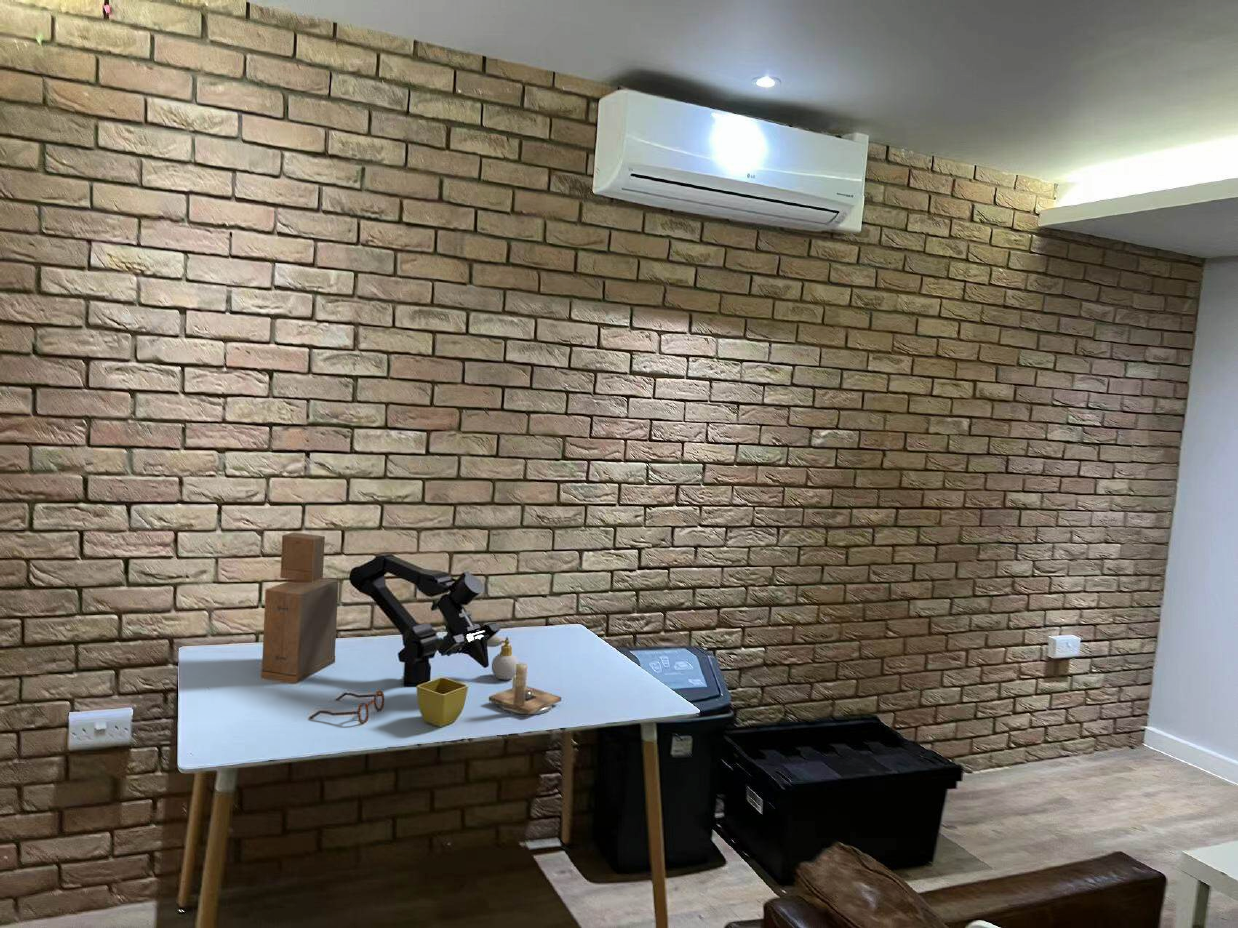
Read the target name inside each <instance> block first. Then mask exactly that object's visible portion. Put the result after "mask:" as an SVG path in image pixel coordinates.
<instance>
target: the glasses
mask: <svg viewBox="0 0 1238 928" xmlns="http://www.w3.org/2000/svg"><path fill="white" fill-rule="evenodd" d="M345 696H349V697H350V696H351V697H354V698H357V699H365V698H373V699H372V700H370V701H369V702H366V701H364V702H361V703H360V704H359V706H358V709H357V710H356V711H337V712H334V711H330V710H320V709H319V711H317V712H315V713H314V714H312V715H311V716H309V717H308V719H311V720H312V719H314V718H316V717H317V716H318V715H320V714H327V715H330V716H349V715H352V716H353V715H357V718H358V721H359V723H360V724H366V723H367V722H368V719H369V715H370V714H369V713H370V711H369V707H370V706H371V705H372V704H373V705H374V707H375V708H374V709H375V710H376V711H377V712H381V711H382V710H383V709H384V707H385V695H384V693H383V691H382V690H377V691H376V692H375V693H372V694H370V693H369V694H355V693H352V692H343V693H342V694H341V695H340V696H339V697H337V698H336V699H334V702H339V701H340V700H341V699H343V698H344V697H345ZM379 697H380V698H381V706H380V707H378V703H377V699H378V698H379ZM363 706H364V707H365V709H366V710H365V712H366V713H365V719H364V720H363V719H362V716H361V711H362V707H363Z"/></svg>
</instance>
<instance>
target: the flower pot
mask: <svg viewBox="0 0 1238 928" xmlns="http://www.w3.org/2000/svg"><path fill="white" fill-rule="evenodd" d="M415 687H416V695H417V696H416V697H417V706H418V709H419V712H420V714H421V717H422V718H423V720H424V721H425V723H428V724H431V725H433V726H435V727H440V728H443V727H445V726H448V725H450V724H452V723H455V722H456V721H457V720H458V718H459V717H460V716H461V714H462V712H463V710H464V706H465V703H466V698H467V694H468V690H469V685H468V684H466V683H462V682H459V681H455V680H453V679H449V678H448V677H447V678H446V677H443V676H442V677H437V678H434V679H432V680H430V681H429V682H427V683H423V684H420V685H418V686H415Z"/></svg>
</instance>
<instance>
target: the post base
mask: <svg viewBox="0 0 1238 928" xmlns="http://www.w3.org/2000/svg"><path fill="white" fill-rule="evenodd" d="M515 681H516V676H514V677H513V678H512V685H511V686H512V688H514V687H515ZM531 696H532V691H530V690H525V701H529V700H531ZM496 705H498V706H497V707H499V708H501V709H502V710H501V709H500V710H501V711H503V710H504V711H503V712H505V711H506V712H505V713H507V712H508V714H511V713H513V714H512V715H516V714H517V715H516V716H537V715H538V716H539V715H543V714H546V713H549V712H550V711H551V710H552V709H553V707H554V704H552V705H550V706H548V707H545V708H543V709H540V710H538V711H535V712H533V713H531V714H527V713H524V712H521V711H518V710H515V709H512V708H509V707H506V706H503V705H500V704H497V703H496ZM499 708H498V709H499ZM549 710H550V711H549Z"/></svg>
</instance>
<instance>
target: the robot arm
mask: <svg viewBox="0 0 1238 928" xmlns="http://www.w3.org/2000/svg"><path fill="white" fill-rule="evenodd" d="M387 574H390V575H393V576H395V577H397V578H399V579H402V580H404V581H407V582H408V583H410V584H413V585H414V586H415V587H416V589H417V590H418V591H419V592H421V593H422V594H423V595H425V596H426V597H428V598H433V597H437V596H440V597H439V598H435V599H432V605H431V607H430V611H432V612H433V611H434V612H435V611H438V610H439V612H440V613H441V616H442V617H443V618H444V620H445V622H446V625H445V626H444V627H445V631H446V635H444V636H443V637H440V638H439V637H438V632H437V631H435V629H434V628H433V627H432V626H431V624H430V623H429V622H425V623H424V622H423V623H419V622H418V621H416V619H414V617H413V616H412V615H411V613H410V612H409V611H408V610H407V609H406V608H405V606H404V605H403V604H402V603H401V602H400V600H399V599H398V598H397V596H396V595H394V593H393V592H392V591H391V589H389V587H388V586H387V583H386V582H387V581H386V575H387ZM348 581H349V583H350V585H351V586H352V587H353V588H354V589H356V590H357V591H358V593H362V594H363V595H366V596H367V597H370V598H371V599H372V601H374V603H376V605H377V606H378V608H380V610H381V611H382V612H383V614H384V615H385V616H386V617H387V618H388V620H389V621H390V622H391V623H392V624H393V626H394V627H395V628H396V630H397V631H398V632H399V633H400V634H401V636H402V637H401V639H402V645H403V648H402V649H401V650H400V651H399V652H398V653H397V657H398V662H401V663H403V673H402V677H401V679H402V680H401V681H402V686H403V687H416V686H418V685H420V684H423V683H427V682H430V681H431V675H432V674H431V673H432V671H431V670H432V666H431V663H430V659H433V658H435V656H436V654H437V652H438V653H439V654H440V655H441V657H444V656H446V657H450V656H451V655H454V654H455V655H456V654H465V655H467V656H469V657H471V659H473V660H474V661H475V662H476V663H477V664H479V666H481V667H483V668H484V669H486V668H488V667H489V665H490V663H489V661H490V660H489V651H488V650H489V649H488V646H487V641H488V640H489V639H490V638H492V637H493V636H494V635H497V634H498V633H499V632H500V631H501V627H500V626H499V624H498V623H497V622H490V623H489V622H488V623H486V624H484V625H483V626H480V624H479V623H478V624H475V623H474V621H473V619H472V618H471V616H472V615H473V612H472V611H471V610H468V611H467V609H466V607H465V606H468V605H469V604H471V603H472V602H473V601H474V600H475V599H476V598H477V597H478V596H480V594H482V592H484V585H483V582H482V580H481V579H479V578H477V577H476V576H475V575H473V574H471V573H470V572H469V571H465V572H462V573H461V574H460V575H459V577H458V578H454V577H452V576H451V574H449V573H448V572H447V571H443V570H438V569H427V568H422V567H421V566H419V565H417V564H416V565H415V563H411V562H409V561H406V560H404V559H402V558H400V557H397V556H395V555H394V554H393V553H384V554H379V555H377V556H376V557H374V558H373V559H371V560H369V561H367V562H365V563H364V564H361V565H359V566H358V565H357V566H354V567H352V569H351V570H350V573H349V579H348Z"/></svg>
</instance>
